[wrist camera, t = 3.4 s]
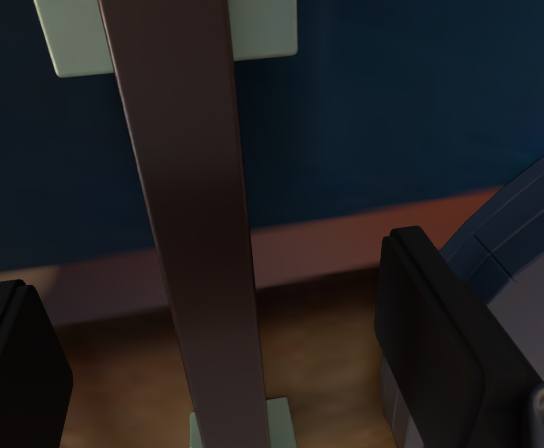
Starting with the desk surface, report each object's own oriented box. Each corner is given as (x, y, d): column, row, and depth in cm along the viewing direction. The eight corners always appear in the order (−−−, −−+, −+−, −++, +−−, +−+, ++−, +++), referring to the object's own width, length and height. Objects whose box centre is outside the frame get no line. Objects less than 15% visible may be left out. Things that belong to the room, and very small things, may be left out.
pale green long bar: (58, -115, 7) (-8, -124, 5) (258, -127, 7) (295, -141, 5) (198, 448, 16) (201, 551, 13) (288, 433, 16) (308, 530, 13)
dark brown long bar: (-10, -572, 3) (-91, -775, 2) (165, -569, 3) (155, -756, 2) (241, 581, 15) (246, 630, 14) (280, 573, 15) (287, 621, 14)
